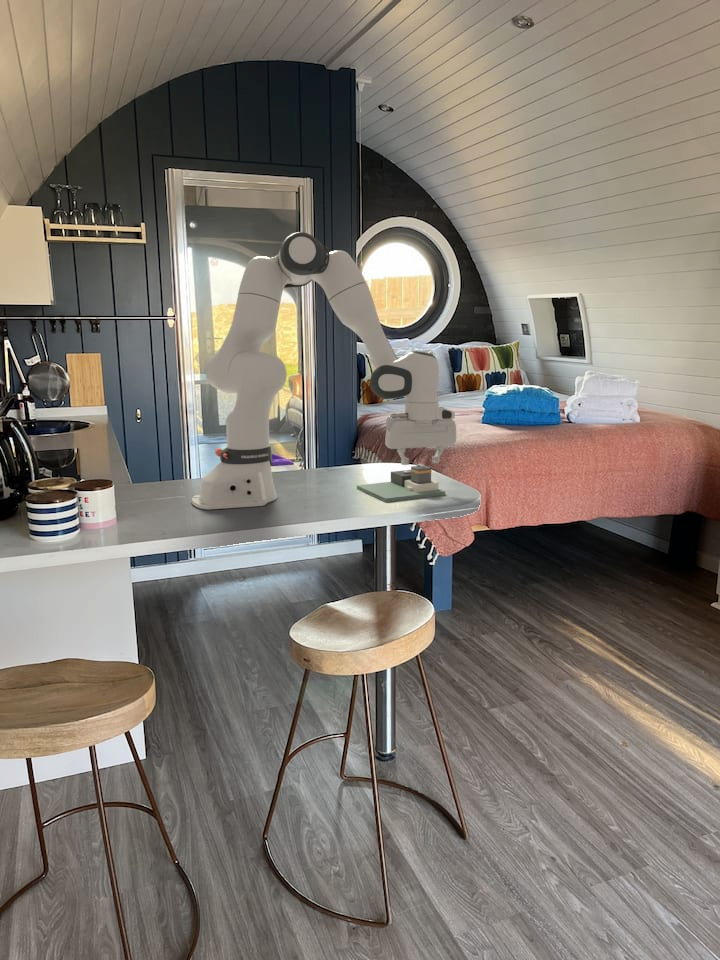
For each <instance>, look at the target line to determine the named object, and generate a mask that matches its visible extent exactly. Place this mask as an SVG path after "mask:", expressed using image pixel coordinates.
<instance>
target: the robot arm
mask: <svg viewBox="0 0 720 960" xmlns="http://www.w3.org/2000/svg"><path fill="white" fill-rule="evenodd" d="M329 250H330V249H329V248H328V247H327V246H326V245H324V244H323V243H321V242H320V241H319V240H318V239H317V238H315V236H313V235H311V234H309V233H307V232H303V231H298V232H293V233H291V234H290V235H288V236H287V237H286V238H285V239H284V241H283V242H282V244H281V246H280V249H279V251H278V253H277V254H276V255H275V256H271V257H268V256H264V255H263V256H255V257H253V258H251V259H250V260H248V262H247V264H246V267H245V269H244V272H243V275H242V277H241V281H240V285H239V289H238V293H237V299H236V304H235V309H234V313H233V318H232V322H231V326H230V329H229V330H228V333H227V334H226V337H225V339H224V340H223V342H222V344H221V346H220V347H219V349H218V350H217V351H216V353H214V354H213V356H211V357H210V358H209V359H208V361H207V363H206V366H205V376H206V377H205V378H206V380H207V382H208V384H210V385H211V387H213V388H214V389H216V390H219V391H222V392H224V393H228V394H236V401H235V405H234V408H233V410H232V411H230V413H229V414H228V415H227V417H226V419H225V427H226V444H227V445H226V447H225V448H224V449H222V448H220V447H218V448H216V449H215V450H214V455H216V456H218V457H219V458H220V462H219V464H217V465H216V466H215V467H214V468H212V469H211V470H210V471H209V472H208V473H206V474H205V475H203V477H202V479H201V480H200V485H199V487H200V488H199V494H196V495H194V496H192V497H191V504H192V505H193V507H194V506H195V508H198V509H201V510H219V509H221V510H222V509H235V508H236V509H237V508H251V507H262V506H265V505H267V504H268V503H271V502H273V501H275V500H277V499H278V495H277V492H276V488H275V485H274V480H273V473H272V467H273V466H272V454H273V452H272V447H271V445H270V413H271V410H272V406H273V402H274V401H275V398H276V396H277V394H279V392H280V391H281V390H282V389H283V388H284V386H285V384H286V381H287V378H288V377H287V375H288V374H287V368H286V364H285V363H284V361H283V360H282V359H281V358H280V357H278V356H276V355H274V354H271V353H267V352H265V351H264V352H263V351H261V350H262V348H263V346H264V345H265V343H266V342H267V341H269V340H270V339H271V338H272V337H273V336H274V334H275V333H276V328H277V322H278V316H279V312H280V306H281V300H282V297H283V296H282V295H283V291H284V289H286V288H301V287H305V286H307V285H308V284H310V283H311V282H312V281H313V282H316V283H317V284H318V285H319V286H320V287H321V288H322V290H323V291H324V294H325V296H326V298H327V301H328V303H329V305H330V306H331V308H332V310H333V312H334V313H335V315H336V317H337V319H339V321H340V322H341V323H342V324H343V325H344V326H346V327H347V328H349V329H350V330H351V331H353V333H355V334H356V335H357V336H358V337H359V338H360V339H361V341H362V342H363V344H364V346H365V348H366V350H367V352H368V354H369V355H370V358H371V361H372V362H373V364H374V366H375V369H374V371H372V373H371V376H370V379H369V386H370V390H371V391H372V392H373V394H374V395H375V396H377V397H378V398H380V399H383V400H385V401H388V400H389V401H390V400H396V399H400V398H404V400H405V401H404V402H405V403H404V404H405V406H404V409H405V410H404V412H402V413H391V414H390V415H389V416H387V418H386V421H385V426H386V427H385V428H386V431H385V437H384V438H385V439H384V440H385V441H384V444H385V446H386V447H387V449H391V450H396V451H397V453H398V456H399V457H400V464H401V465H402V466H407V465H409V464H410V463H409V462H410V458H409V457H406V455H405V453H406V449H415V448H431V447H433V448H434V447H435V450H436V452H434V455H431V458H432V459H431V462H432V463H433V464H438V463H440V458H441V456H442V454H443V452H444V450H445V449H444V448H445V447H448V446H449V447H450V446H454V445H455V444H456V442H457V424H456V422H455V420H454V419H455V417H456V412H455V411H453V410H451V409H447V408H444V407H443V406H439V397H438V390H439V387H440V368H439V361H438V358H437V357H436V356H435V355H434V354H432V353H429V352H426V351H420V350H419V351H418V350H411V351H409V352H408V353H406V354H405V355H403V356H401V357H399V358H398V357H397V354H395V351H394V349H393V347H392V345H391V344H390V342H389V340H388V338H387V335H386V333H385V332H384V329H383V327H382V325H381V322H380V319H379V315H378V312H377V309H376V305H375V302H374V298H373V296H372V293H371V291H370V287H369V286H368V283H367V281H366V280H365V277H364V275H363V274H362V272H361V270H360V268H359V267H358V265H357V264H356V262H355V261H354V259H353V258H352V257H351V255H350V254H349V253H348V252H347V251H344V250H338V249H337V250H332V251H329Z"/></svg>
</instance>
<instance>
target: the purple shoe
mask: <svg viewBox="0 0 720 960" xmlns="http://www.w3.org/2000/svg"><path fill="white" fill-rule="evenodd" d="M294 465H295V463H294V462H293V461H292V460H291V459H289V458H286V457H283V456H281V455H278V454H275V453H272V466H271V467H280V466H281V467H282V466H294Z"/></svg>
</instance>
